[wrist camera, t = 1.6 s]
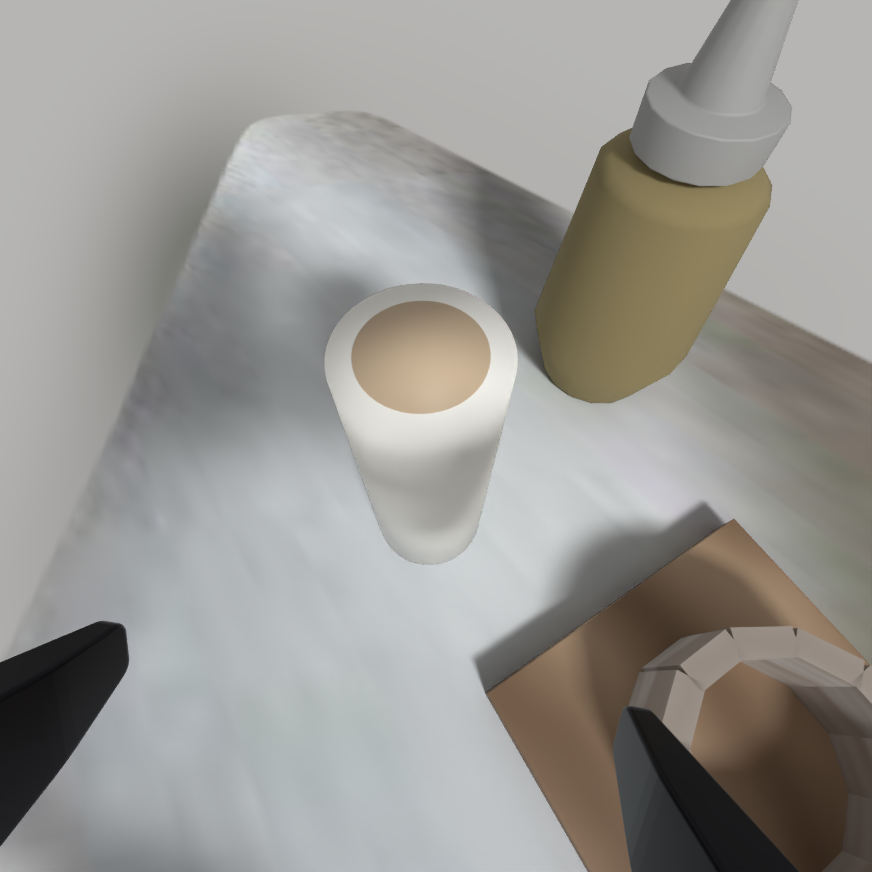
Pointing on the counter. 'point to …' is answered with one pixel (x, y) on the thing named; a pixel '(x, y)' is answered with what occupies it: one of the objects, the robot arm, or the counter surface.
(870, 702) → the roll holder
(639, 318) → the squeeze bottle
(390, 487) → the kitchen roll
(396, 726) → the counter surface
